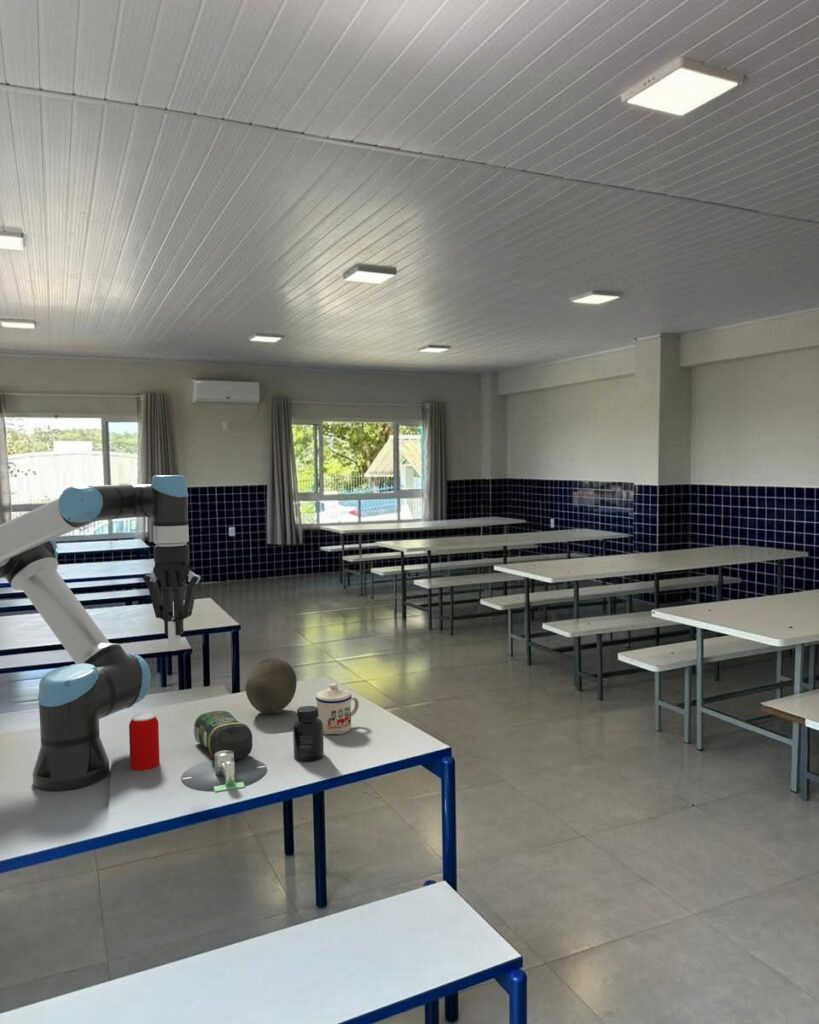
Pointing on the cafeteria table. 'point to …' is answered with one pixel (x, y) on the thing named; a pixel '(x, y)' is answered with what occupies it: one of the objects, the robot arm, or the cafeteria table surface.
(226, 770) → the pointer
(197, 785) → the dial plate
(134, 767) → the beverage can
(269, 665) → the cantaloupe
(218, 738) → the coffee jar
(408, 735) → the cafeteria table surface
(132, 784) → the cafeteria table surface
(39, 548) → the robot arm
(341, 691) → the teacup with lid
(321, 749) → the supplement bottle
